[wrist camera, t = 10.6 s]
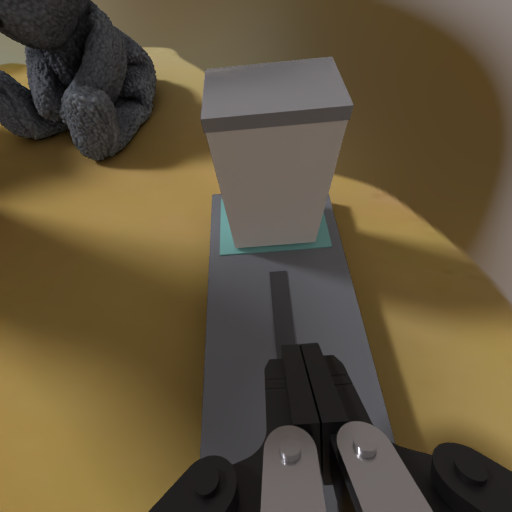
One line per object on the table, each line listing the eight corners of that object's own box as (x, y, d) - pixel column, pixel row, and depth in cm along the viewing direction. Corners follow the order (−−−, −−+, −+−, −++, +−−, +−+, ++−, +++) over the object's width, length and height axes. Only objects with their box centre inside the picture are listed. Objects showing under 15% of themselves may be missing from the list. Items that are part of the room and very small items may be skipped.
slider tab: (316, 242, 18) (353, 105, 10) (234, 248, 19) (200, 119, 10) (307, 200, 21) (332, 56, 12) (234, 206, 21) (205, 69, 12)
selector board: (404, 533, 12) (426, 556, 11) (205, 542, 13) (194, 566, 11) (322, 200, 23) (326, 184, 22) (216, 209, 24) (212, 193, 22)
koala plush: (7, 141, 32) (-301, -156, 15) (99, 71, 40) (-32, -173, 23) (114, 170, 28) (-141, -194, 11) (193, 87, 35) (120, -199, 18)
